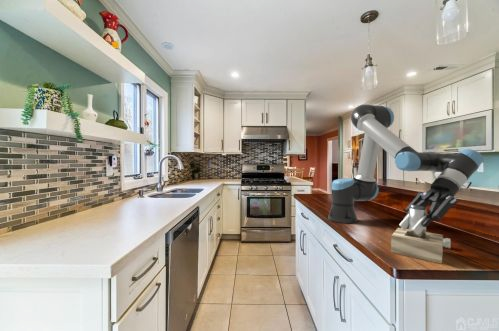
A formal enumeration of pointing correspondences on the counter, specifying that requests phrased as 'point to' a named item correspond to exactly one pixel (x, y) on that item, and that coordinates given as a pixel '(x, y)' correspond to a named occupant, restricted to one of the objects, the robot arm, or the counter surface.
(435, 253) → the socket block
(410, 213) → the capped cylinder
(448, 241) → the pipe fitting
